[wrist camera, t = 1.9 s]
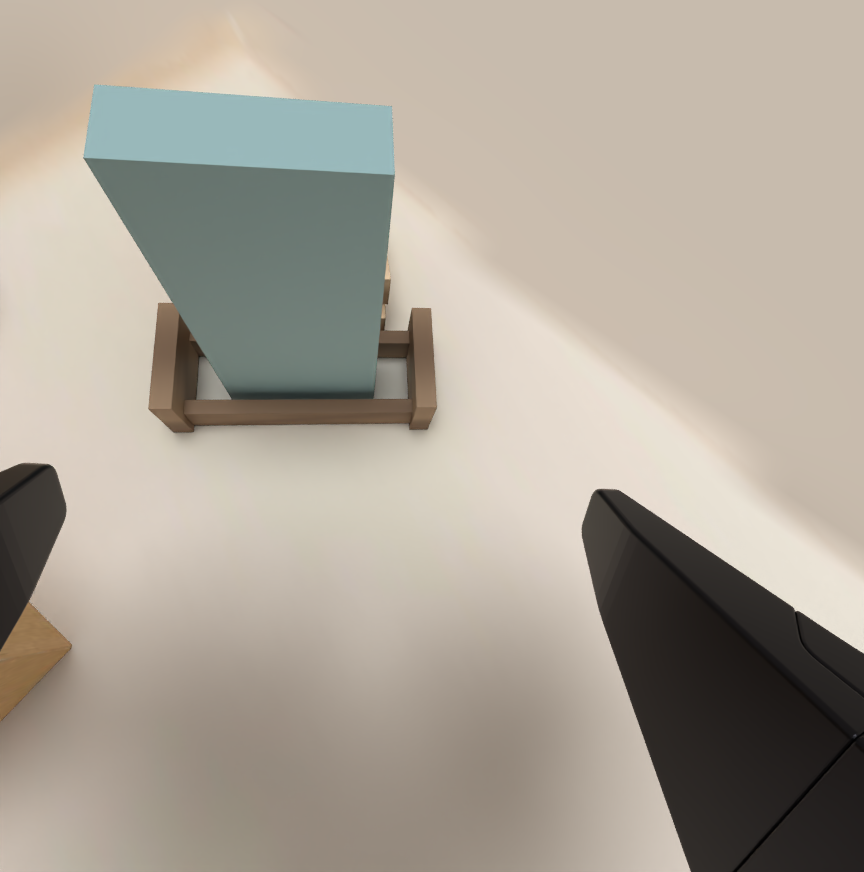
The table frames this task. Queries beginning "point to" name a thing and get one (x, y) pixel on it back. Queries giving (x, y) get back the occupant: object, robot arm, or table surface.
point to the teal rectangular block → (258, 228)
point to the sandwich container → (28, 657)
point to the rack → (183, 411)
